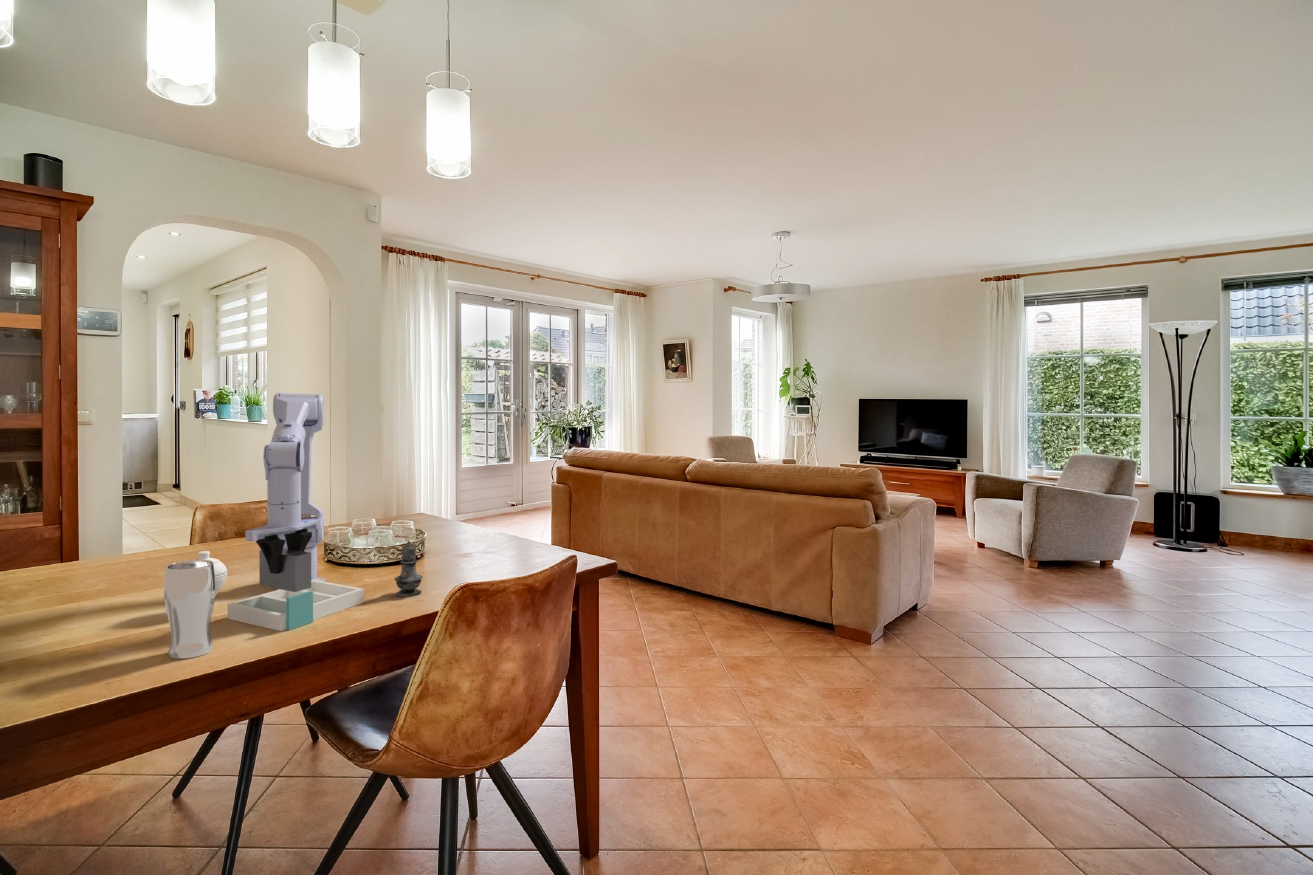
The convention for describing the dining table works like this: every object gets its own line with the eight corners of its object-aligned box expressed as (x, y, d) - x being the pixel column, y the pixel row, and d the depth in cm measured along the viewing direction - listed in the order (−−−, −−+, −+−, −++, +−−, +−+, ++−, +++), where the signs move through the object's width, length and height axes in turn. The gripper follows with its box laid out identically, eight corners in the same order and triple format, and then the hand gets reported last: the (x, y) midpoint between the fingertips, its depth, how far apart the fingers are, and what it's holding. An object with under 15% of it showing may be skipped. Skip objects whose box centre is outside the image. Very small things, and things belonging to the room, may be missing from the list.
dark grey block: (259, 585, 125) (259, 550, 125) (276, 580, 128) (275, 546, 128) (295, 592, 121) (295, 556, 121) (311, 587, 125) (311, 552, 124)
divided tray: (227, 618, 122) (227, 588, 122) (314, 592, 140) (314, 565, 139) (284, 632, 116) (284, 600, 116) (367, 602, 134) (367, 575, 133)
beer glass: (182, 644, 109) (181, 559, 109) (225, 643, 110) (224, 559, 109) (154, 660, 102) (152, 570, 102) (199, 660, 103) (198, 570, 102)
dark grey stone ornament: (412, 598, 138) (413, 544, 137) (388, 596, 139) (389, 542, 138) (427, 590, 143) (428, 538, 143) (404, 588, 144) (404, 536, 144)
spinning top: (236, 607, 129) (236, 549, 128) (198, 619, 122) (198, 557, 121) (210, 602, 131) (209, 545, 131) (171, 613, 124) (170, 553, 123)
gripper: (263, 509, 116) (263, 582, 116) (330, 499, 129) (330, 564, 130) (237, 506, 118) (238, 577, 119) (306, 496, 132) (306, 560, 133)
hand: (284, 570), depth 125 cm, fingers closed on dark grey block, 3 cm apart
